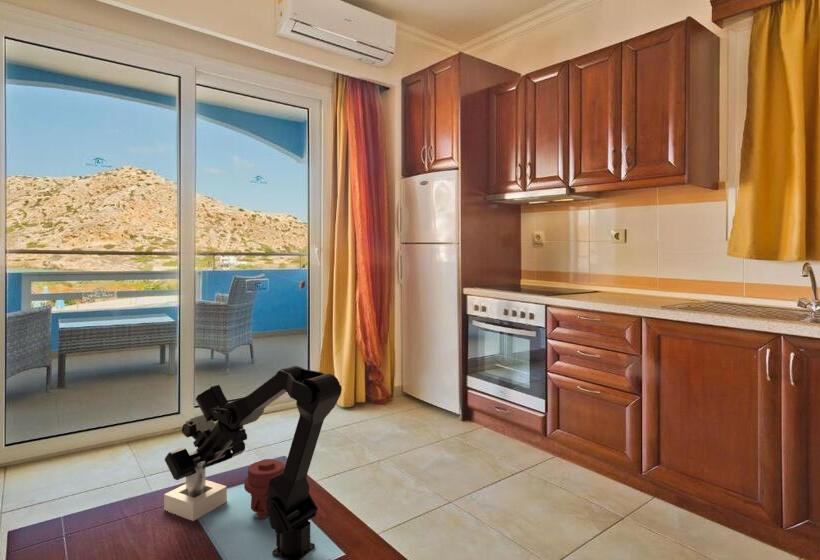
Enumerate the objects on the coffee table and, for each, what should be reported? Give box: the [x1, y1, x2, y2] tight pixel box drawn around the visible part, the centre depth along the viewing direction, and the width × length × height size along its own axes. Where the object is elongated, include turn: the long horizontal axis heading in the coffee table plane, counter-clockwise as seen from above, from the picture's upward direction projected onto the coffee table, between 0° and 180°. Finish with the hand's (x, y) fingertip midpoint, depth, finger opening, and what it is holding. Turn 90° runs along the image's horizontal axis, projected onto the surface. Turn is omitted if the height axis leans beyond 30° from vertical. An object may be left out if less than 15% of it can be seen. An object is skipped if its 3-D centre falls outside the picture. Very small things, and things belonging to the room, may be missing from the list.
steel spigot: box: [185, 450, 207, 498], centre depth 119 cm, size 5×5×13 cm
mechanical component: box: [243, 458, 285, 520], centre depth 117 cm, size 12×10×10 cm
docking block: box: [163, 479, 228, 522], centre depth 119 cm, size 10×10×4 cm
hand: (192, 470), depth 120 cm, fingers open, 6 cm apart
